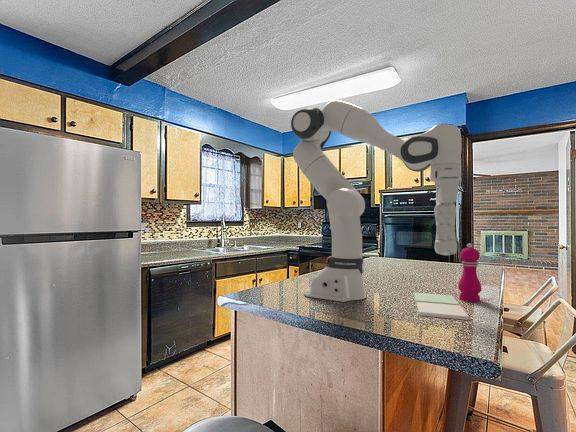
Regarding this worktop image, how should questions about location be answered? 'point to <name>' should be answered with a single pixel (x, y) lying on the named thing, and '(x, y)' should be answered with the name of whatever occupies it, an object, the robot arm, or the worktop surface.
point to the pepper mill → (469, 275)
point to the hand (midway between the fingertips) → (444, 218)
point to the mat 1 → (435, 298)
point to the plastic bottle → (445, 231)
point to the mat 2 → (441, 310)
